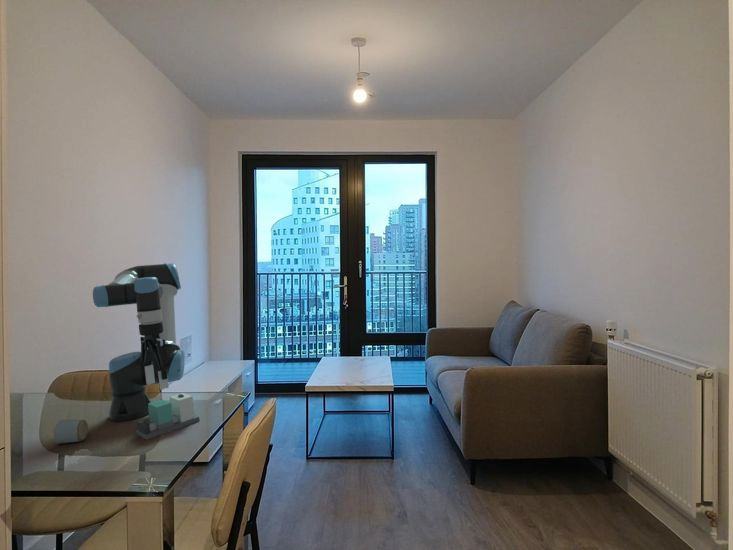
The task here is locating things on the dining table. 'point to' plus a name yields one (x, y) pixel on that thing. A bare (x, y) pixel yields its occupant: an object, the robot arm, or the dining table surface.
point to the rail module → (160, 414)
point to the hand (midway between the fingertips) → (157, 386)
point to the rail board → (175, 426)
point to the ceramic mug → (70, 431)
